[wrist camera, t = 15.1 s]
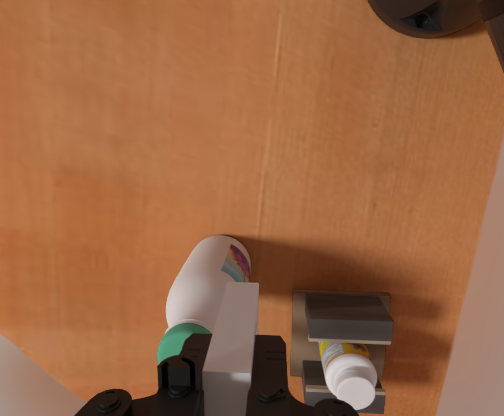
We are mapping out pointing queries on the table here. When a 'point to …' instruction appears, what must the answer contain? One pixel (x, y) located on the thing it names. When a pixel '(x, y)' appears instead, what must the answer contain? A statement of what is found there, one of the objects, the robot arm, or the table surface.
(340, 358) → the supplement bottle
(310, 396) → the clamp block
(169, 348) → the milk bottle
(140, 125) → the table surface
